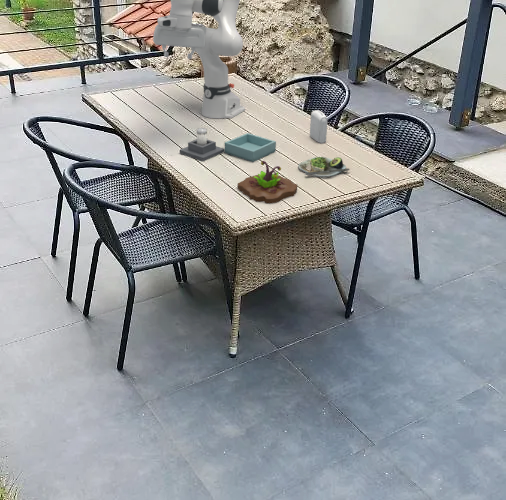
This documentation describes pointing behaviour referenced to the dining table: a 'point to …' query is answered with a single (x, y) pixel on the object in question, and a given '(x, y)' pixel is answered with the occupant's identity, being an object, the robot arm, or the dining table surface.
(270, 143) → the parts tray
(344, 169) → the salad plate
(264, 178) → the plant
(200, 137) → the cylinder
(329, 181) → the dining table surface
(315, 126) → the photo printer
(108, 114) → the dining table surface
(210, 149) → the grey square socket
